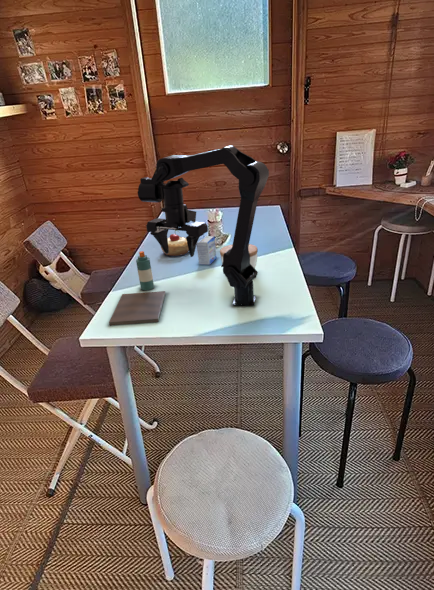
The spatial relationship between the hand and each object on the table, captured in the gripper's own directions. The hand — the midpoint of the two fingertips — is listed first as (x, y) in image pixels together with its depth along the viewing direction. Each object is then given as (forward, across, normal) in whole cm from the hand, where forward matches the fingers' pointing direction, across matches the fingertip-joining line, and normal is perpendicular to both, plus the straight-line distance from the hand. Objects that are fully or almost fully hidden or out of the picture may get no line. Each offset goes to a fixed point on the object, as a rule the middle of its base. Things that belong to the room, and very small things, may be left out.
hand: (179, 254), depth 133 cm
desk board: (+13, +7, +14) cm, 21 cm away
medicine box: (+13, +8, -29) cm, 33 cm away
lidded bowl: (+13, -10, -20) cm, 26 cm away
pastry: (+13, +26, -34) cm, 45 cm away
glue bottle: (+13, +15, 0) cm, 20 cm away
